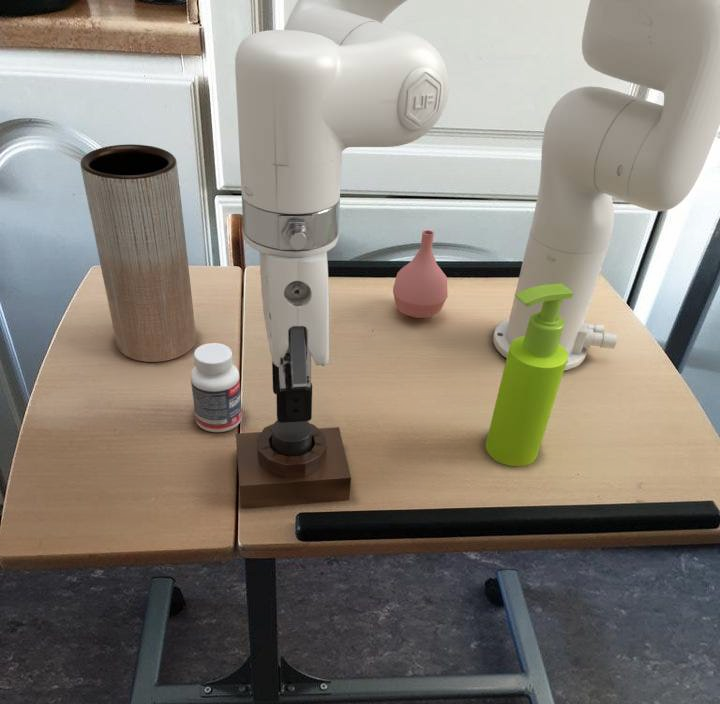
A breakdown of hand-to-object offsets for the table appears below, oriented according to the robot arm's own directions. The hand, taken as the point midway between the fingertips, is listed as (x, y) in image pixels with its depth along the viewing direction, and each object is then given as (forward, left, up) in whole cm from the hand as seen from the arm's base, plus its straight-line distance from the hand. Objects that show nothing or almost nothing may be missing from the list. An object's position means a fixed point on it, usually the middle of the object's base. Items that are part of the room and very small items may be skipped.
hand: (291, 404), depth 67 cm
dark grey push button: (0, 0, -5) cm, 5 cm away
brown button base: (0, 0, -10) cm, 10 cm away
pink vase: (-11, -37, -10) cm, 40 cm away
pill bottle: (+10, -8, -10) cm, 16 cm away
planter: (+22, -22, -10) cm, 33 cm away
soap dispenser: (-23, -9, -10) cm, 27 cm away
